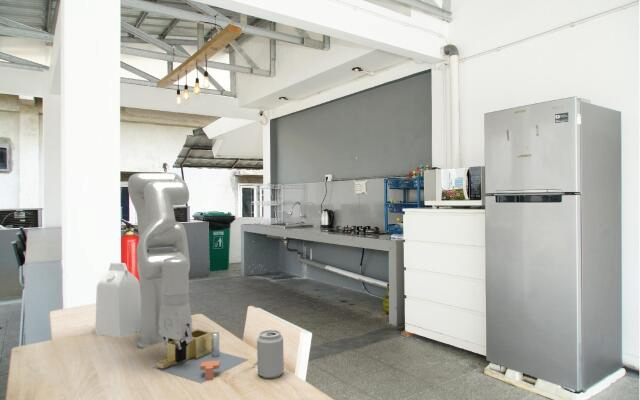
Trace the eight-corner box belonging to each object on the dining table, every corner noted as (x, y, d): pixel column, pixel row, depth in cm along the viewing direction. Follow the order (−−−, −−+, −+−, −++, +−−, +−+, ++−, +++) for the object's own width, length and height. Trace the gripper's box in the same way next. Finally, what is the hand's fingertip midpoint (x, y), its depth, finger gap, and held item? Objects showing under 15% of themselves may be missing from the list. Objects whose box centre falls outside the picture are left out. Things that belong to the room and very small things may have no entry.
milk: (143, 328, 170) (141, 261, 169) (120, 337, 159) (118, 266, 158) (119, 325, 174) (117, 260, 173) (95, 334, 163) (93, 264, 163)
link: (198, 346, 143) (197, 328, 143) (213, 351, 139) (213, 332, 139) (151, 365, 128) (151, 345, 128) (167, 371, 124) (167, 350, 124)
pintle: (210, 361, 136) (209, 333, 136) (215, 358, 138) (215, 331, 138) (215, 362, 135) (215, 335, 134) (221, 360, 137) (220, 333, 136)
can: (287, 370, 128) (287, 329, 128) (277, 381, 121) (276, 338, 121) (264, 367, 131) (264, 327, 130) (252, 377, 124) (252, 335, 123)
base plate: (152, 372, 128) (152, 367, 128) (201, 351, 144) (201, 347, 144) (200, 388, 117) (200, 383, 117) (248, 364, 133) (248, 359, 133)
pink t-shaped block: (202, 377, 124) (201, 361, 124) (220, 376, 125) (220, 360, 124) (199, 385, 119) (199, 368, 119) (218, 384, 120) (218, 367, 119)
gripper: (147, 297, 132) (148, 357, 133) (184, 306, 123) (185, 370, 124) (167, 292, 138) (168, 349, 139) (204, 300, 129) (205, 361, 130)
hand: (176, 358), depth 131 cm, fingers closed on link, 3 cm apart
